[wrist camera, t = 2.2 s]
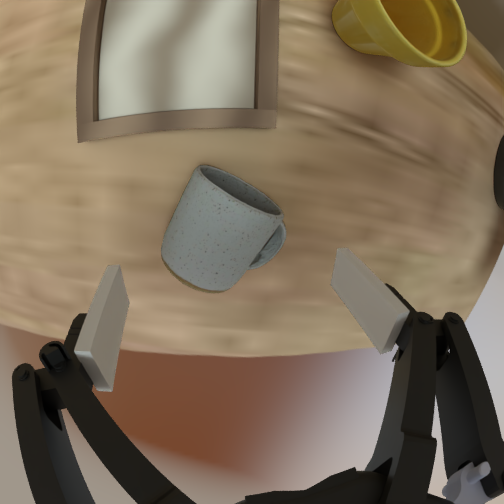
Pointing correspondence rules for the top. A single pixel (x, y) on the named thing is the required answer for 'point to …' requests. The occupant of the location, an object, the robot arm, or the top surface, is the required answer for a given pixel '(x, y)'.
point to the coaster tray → (176, 66)
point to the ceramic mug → (220, 231)
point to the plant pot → (404, 30)
